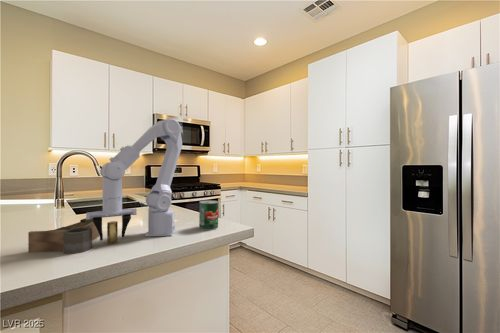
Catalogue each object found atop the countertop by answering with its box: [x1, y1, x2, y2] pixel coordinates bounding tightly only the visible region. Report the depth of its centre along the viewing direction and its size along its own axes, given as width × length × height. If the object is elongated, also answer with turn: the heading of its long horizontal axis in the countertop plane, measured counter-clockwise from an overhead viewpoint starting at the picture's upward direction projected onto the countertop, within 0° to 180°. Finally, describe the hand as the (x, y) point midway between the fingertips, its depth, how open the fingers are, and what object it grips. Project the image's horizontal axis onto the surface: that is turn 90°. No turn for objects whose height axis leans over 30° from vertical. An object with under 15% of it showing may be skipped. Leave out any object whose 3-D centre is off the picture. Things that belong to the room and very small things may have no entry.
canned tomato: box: [198, 199, 219, 231], centre depth 101 cm, size 8×8×11 cm
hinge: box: [27, 222, 100, 255], centre depth 78 cm, size 17×17×6 cm
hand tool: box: [48, 218, 93, 231], centre depth 91 cm, size 19×4×5 cm, turn 169°
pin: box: [106, 220, 119, 245], centre depth 81 cm, size 3×3×7 cm
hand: (112, 238), depth 81 cm, fingers open, 6 cm apart
